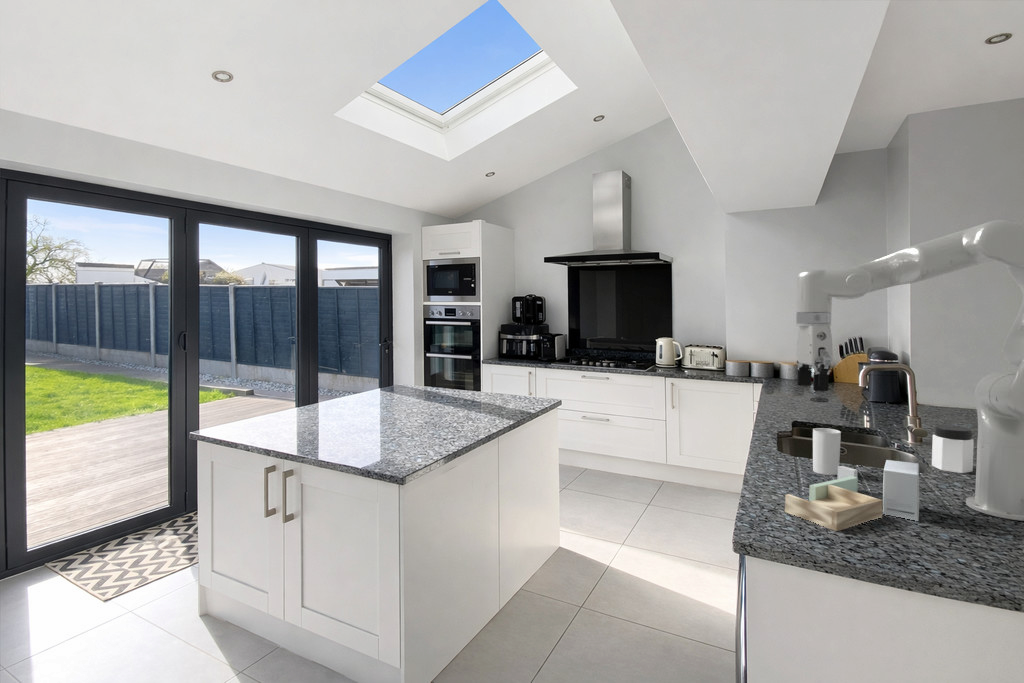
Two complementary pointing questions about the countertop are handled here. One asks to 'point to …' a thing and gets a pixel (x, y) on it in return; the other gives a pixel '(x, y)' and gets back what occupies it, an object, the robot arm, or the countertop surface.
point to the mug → (826, 451)
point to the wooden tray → (836, 508)
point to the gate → (835, 483)
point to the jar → (952, 449)
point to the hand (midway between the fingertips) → (812, 387)
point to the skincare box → (901, 489)
